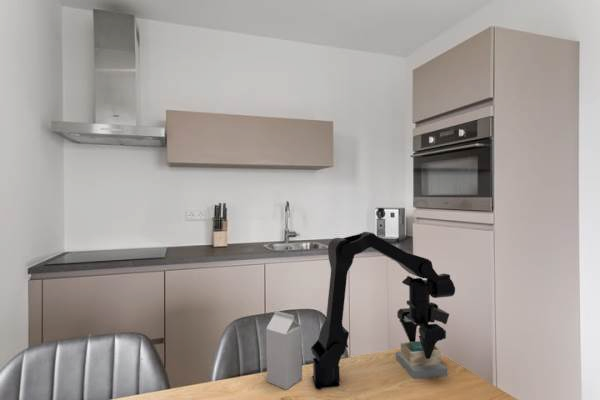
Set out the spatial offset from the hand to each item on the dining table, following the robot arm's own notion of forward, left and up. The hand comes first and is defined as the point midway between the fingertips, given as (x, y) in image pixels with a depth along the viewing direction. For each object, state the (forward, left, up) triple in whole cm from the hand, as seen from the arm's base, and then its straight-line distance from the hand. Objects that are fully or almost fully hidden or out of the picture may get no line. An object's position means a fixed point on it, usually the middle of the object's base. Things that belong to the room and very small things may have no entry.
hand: (420, 351), depth 102 cm
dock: (0, 0, -5) cm, 5 cm away
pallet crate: (0, 0, -2) cm, 2 cm away
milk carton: (-40, 0, -5) cm, 41 cm away
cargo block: (0, 0, -2) cm, 2 cm away
